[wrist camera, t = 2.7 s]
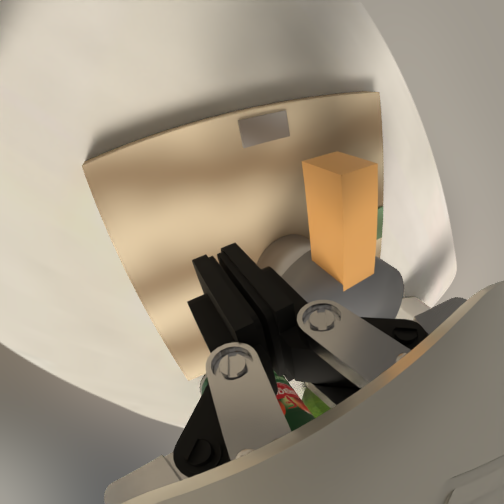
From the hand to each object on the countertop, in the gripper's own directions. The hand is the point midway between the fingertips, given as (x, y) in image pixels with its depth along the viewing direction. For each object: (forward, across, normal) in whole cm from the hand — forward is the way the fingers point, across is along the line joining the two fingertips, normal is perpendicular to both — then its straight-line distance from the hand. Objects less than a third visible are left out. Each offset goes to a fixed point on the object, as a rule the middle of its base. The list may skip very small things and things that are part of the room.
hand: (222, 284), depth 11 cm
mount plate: (+8, -6, +4) cm, 11 cm away
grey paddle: (+2, -6, +4) cm, 7 cm away
